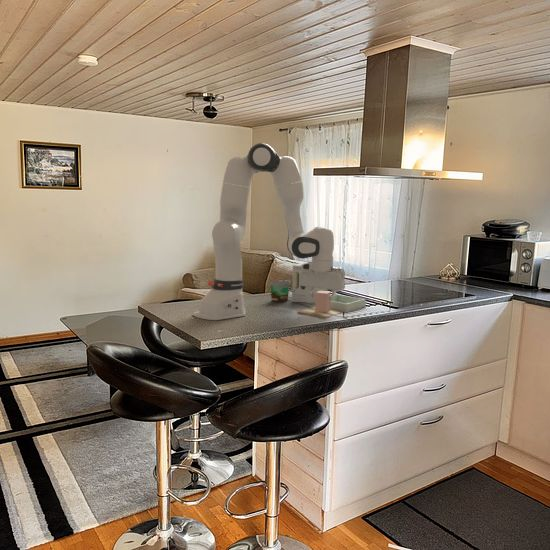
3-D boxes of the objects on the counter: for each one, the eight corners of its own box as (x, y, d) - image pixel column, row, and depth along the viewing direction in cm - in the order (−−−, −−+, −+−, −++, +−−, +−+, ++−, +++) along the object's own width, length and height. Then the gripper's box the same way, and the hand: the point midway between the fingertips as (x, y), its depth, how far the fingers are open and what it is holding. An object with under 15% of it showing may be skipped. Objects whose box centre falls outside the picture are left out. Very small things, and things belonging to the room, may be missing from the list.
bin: (346, 313, 215) (346, 304, 214) (317, 307, 225) (317, 298, 224) (365, 307, 226) (365, 299, 226) (336, 302, 236) (337, 294, 236)
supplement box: (290, 302, 236) (291, 264, 233) (301, 297, 248) (302, 261, 245) (317, 305, 230) (318, 267, 227) (327, 300, 242) (328, 263, 239)
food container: (280, 303, 231) (280, 282, 230) (269, 301, 235) (269, 280, 233) (295, 299, 241) (296, 279, 239) (285, 298, 245) (285, 277, 243)
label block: (325, 312, 212) (326, 293, 211) (314, 310, 214) (315, 292, 213) (330, 310, 217) (330, 291, 216) (319, 308, 219) (319, 290, 218)
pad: (324, 318, 204) (324, 316, 204) (297, 313, 213) (297, 311, 213) (343, 313, 215) (343, 311, 214) (317, 308, 224) (317, 306, 223)
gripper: (348, 267, 208) (346, 300, 210) (305, 263, 219) (304, 294, 221) (341, 269, 203) (340, 303, 205) (297, 264, 214) (296, 296, 216)
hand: (321, 298), depth 213 cm, fingers open, 8 cm apart
